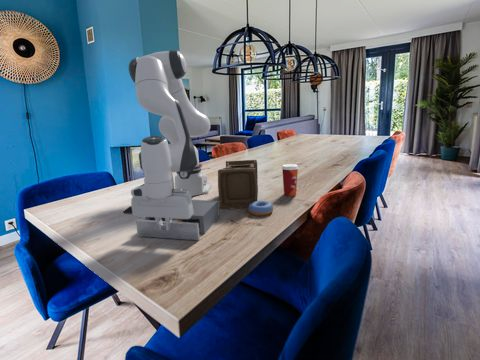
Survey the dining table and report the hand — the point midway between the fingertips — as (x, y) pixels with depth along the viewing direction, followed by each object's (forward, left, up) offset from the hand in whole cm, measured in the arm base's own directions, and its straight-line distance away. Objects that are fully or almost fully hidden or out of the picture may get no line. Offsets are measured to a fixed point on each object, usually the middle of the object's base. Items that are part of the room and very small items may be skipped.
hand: (165, 229), depth 95 cm
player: (-14, 0, -4) cm, 15 cm away
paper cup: (-54, +36, -4) cm, 65 cm away
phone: (-28, -28, -4) cm, 40 cm away
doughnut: (-29, +26, -4) cm, 40 cm away
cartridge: (-6, 0, -3) cm, 7 cm away
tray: (-9, 0, -4) cm, 9 cm away
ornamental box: (-49, +13, -4) cm, 52 cm away
